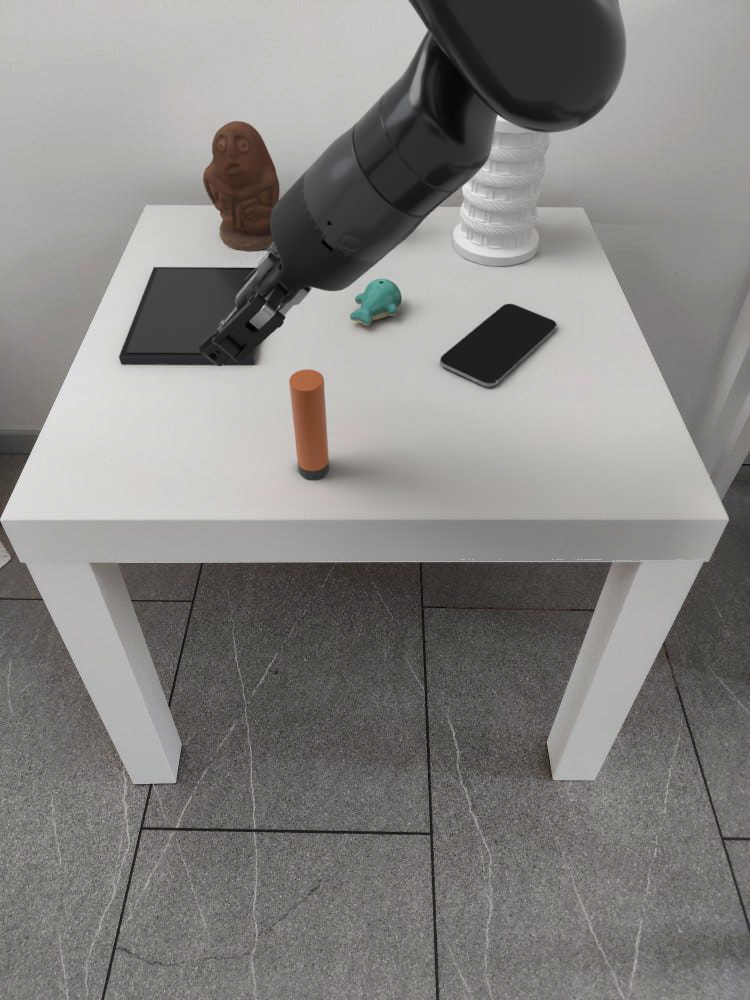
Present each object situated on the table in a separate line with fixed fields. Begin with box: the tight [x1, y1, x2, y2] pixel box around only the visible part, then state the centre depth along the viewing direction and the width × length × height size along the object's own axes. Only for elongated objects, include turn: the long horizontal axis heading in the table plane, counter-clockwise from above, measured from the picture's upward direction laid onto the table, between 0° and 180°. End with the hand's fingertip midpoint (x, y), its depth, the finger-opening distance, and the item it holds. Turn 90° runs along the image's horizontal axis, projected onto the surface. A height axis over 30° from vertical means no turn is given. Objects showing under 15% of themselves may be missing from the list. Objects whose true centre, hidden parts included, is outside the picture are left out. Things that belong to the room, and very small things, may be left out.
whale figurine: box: [349, 278, 403, 326], centre depth 91 cm, size 6×7×4 cm
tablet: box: [118, 266, 258, 366], centre depth 92 cm, size 15×19×1 cm
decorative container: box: [452, 115, 551, 267], centre depth 97 cm, size 12×12×18 cm
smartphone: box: [439, 303, 557, 388], centre depth 88 cm, size 7×1×15 cm
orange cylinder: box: [288, 369, 330, 481], centre depth 70 cm, size 3×3×11 cm
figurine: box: [202, 120, 281, 252], centre depth 100 cm, size 9×10×15 cm
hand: (231, 322), depth 63 cm, fingers open, 8 cm apart
